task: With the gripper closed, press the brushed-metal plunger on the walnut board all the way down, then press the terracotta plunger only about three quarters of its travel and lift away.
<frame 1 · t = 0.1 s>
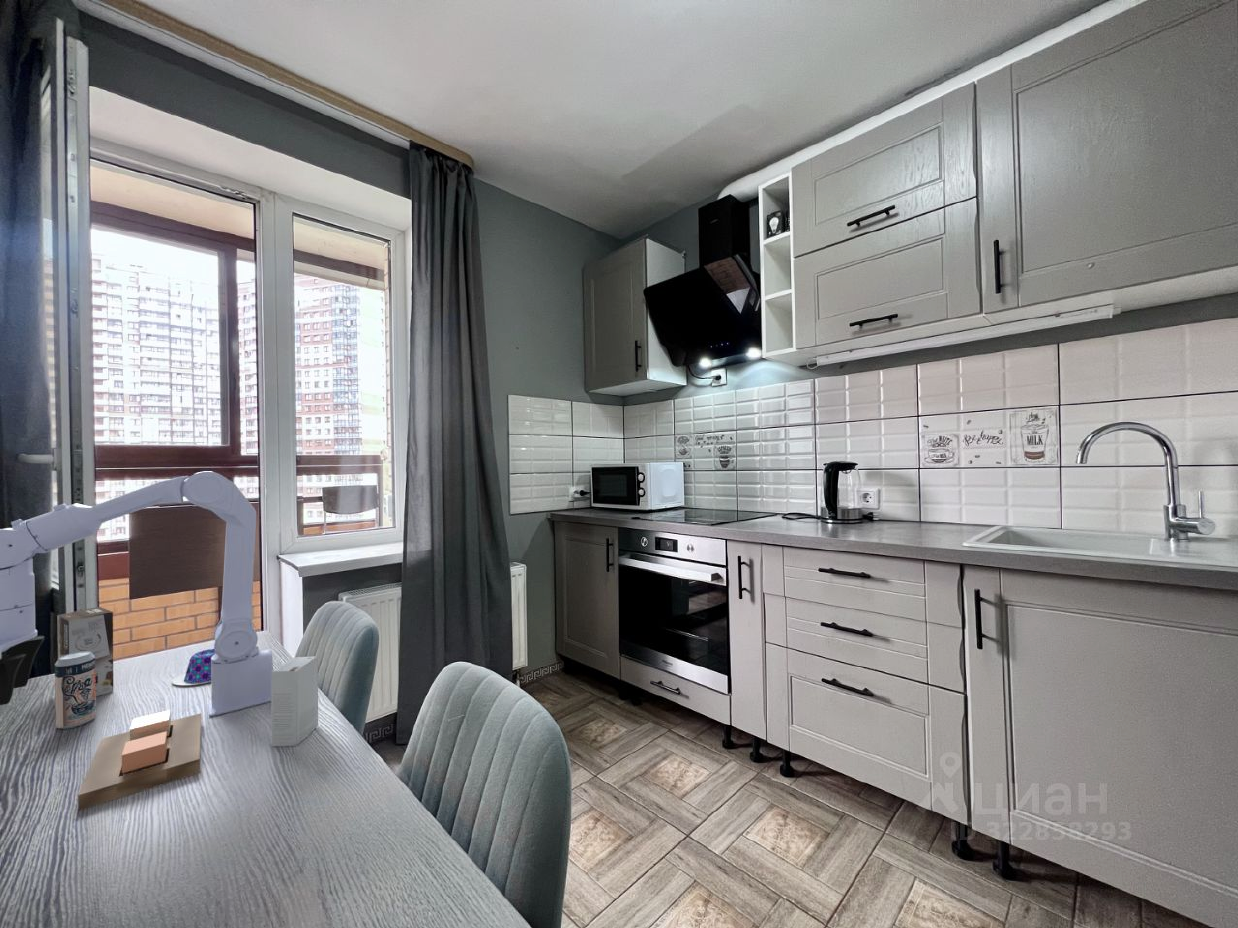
hand: (7, 695, 76), 10 cm above the table, tool pointing down, fingers open, 7 cm apart
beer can: (76, 724, 87), on the table
coffee box: (86, 693, 99), on the table
skincare box: (296, 738, 81), on the table
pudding: (209, 677, 107), on the table
terracotta button: (145, 751, 71), point 3 cm above the table, slide at 0.0 cm
metal button: (151, 726, 78), point 3 cm above the table, slide at 0.0 cm
button board: (148, 761, 75), on the table
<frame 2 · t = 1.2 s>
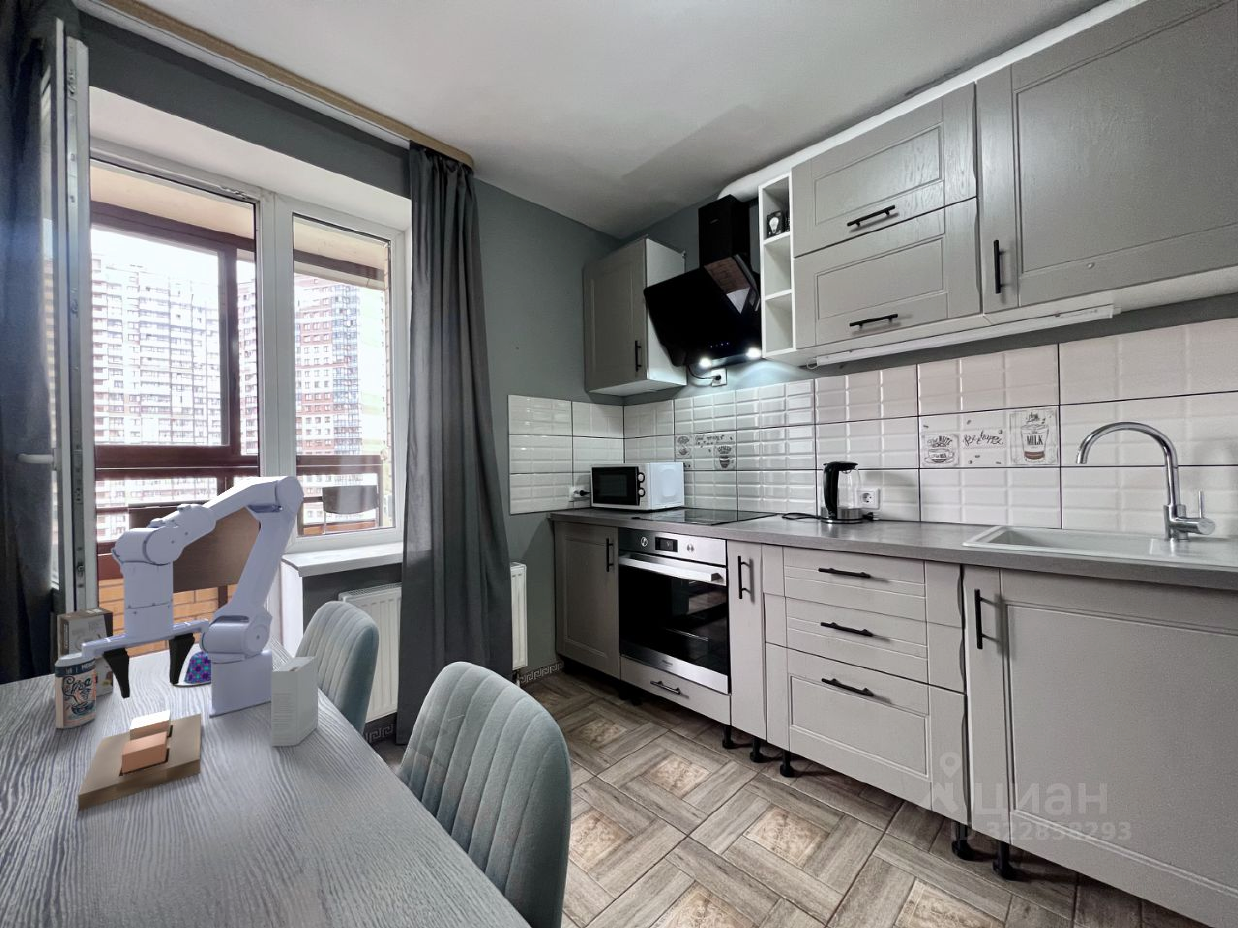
hand: (150, 689, 78), 9 cm above the table, tool pointing down, fingers open, 5 cm apart
nothing on the table moved.
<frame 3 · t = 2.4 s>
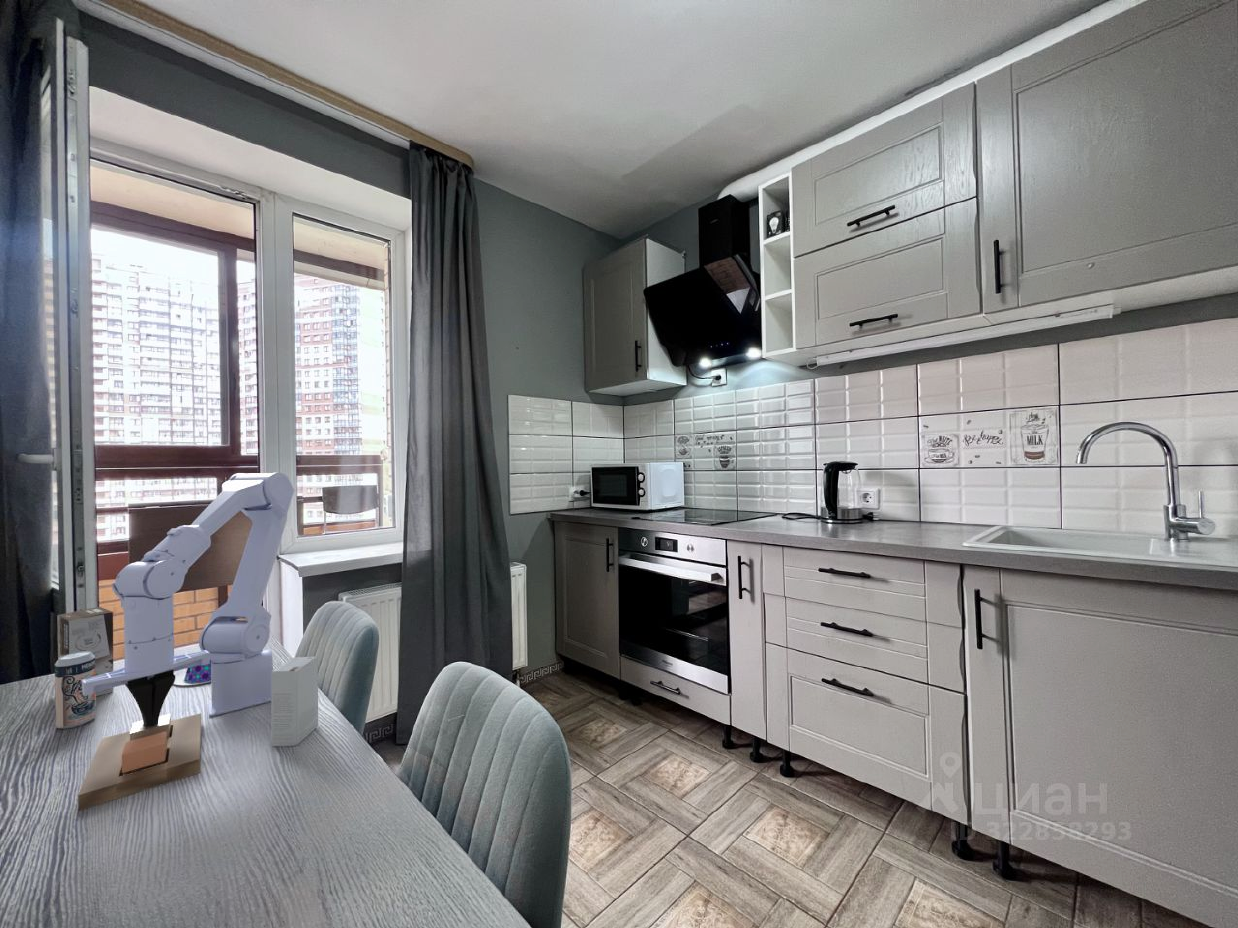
hand: (150, 723, 78), 4 cm above the table, tool pointing down, fingers closed, pressing on metal button
metal button: (151, 730, 78), point 3 cm above the table, slide at 0.6 cm, touching gripper
everything else where it was.
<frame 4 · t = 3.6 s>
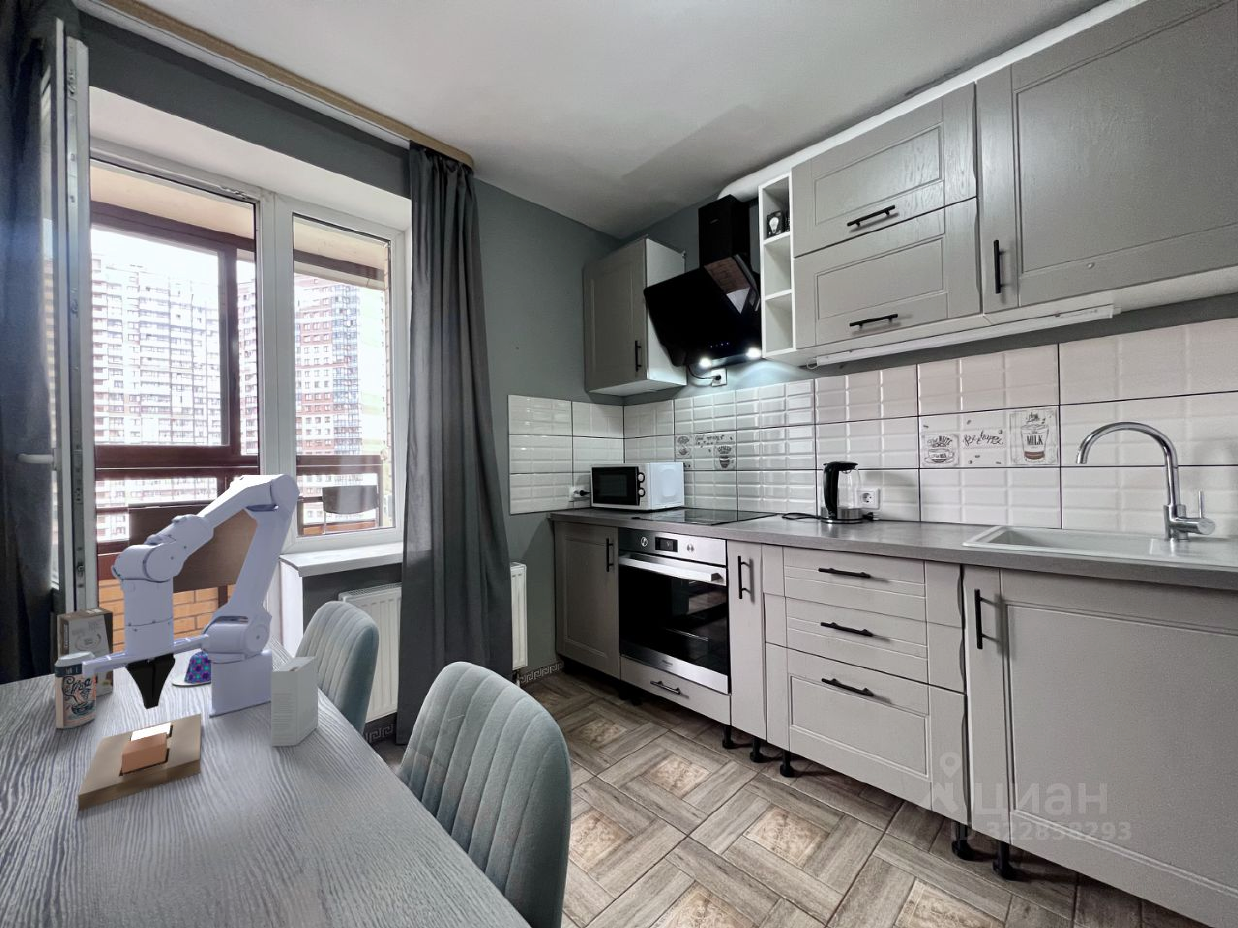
hand: (151, 705, 78), 7 cm above the table, tool pointing down, fingers closed
metal button: (151, 740, 78), point 1 cm above the table, slide at 2.1 cm
everything else where it was.
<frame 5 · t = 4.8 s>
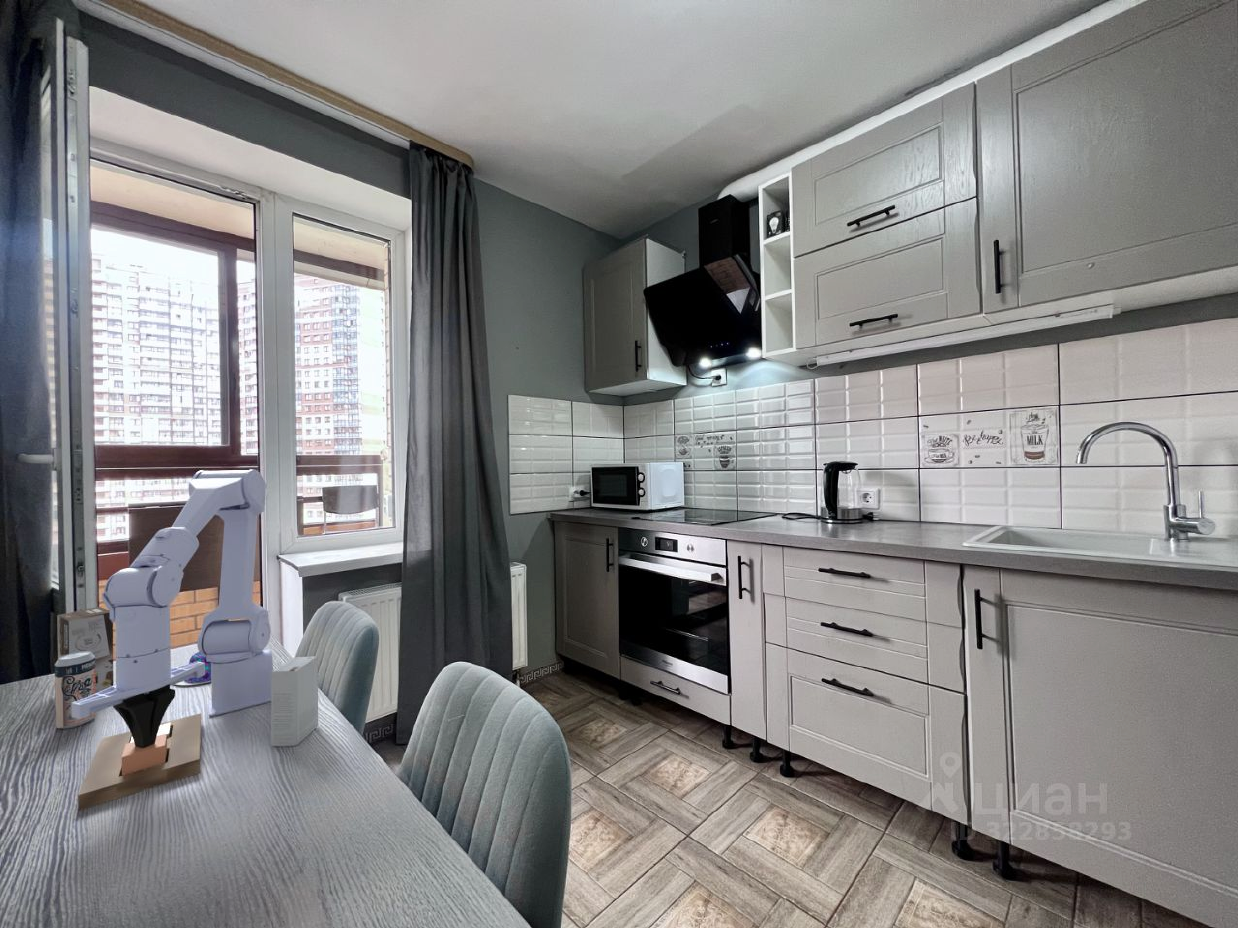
hand: (145, 744, 71), 4 cm above the table, tool pointing down, fingers closed, pressing on terracotta button
terracotta button: (145, 753, 71), point 3 cm above the table, slide at 0.3 cm, touching gripper
everything else where it was.
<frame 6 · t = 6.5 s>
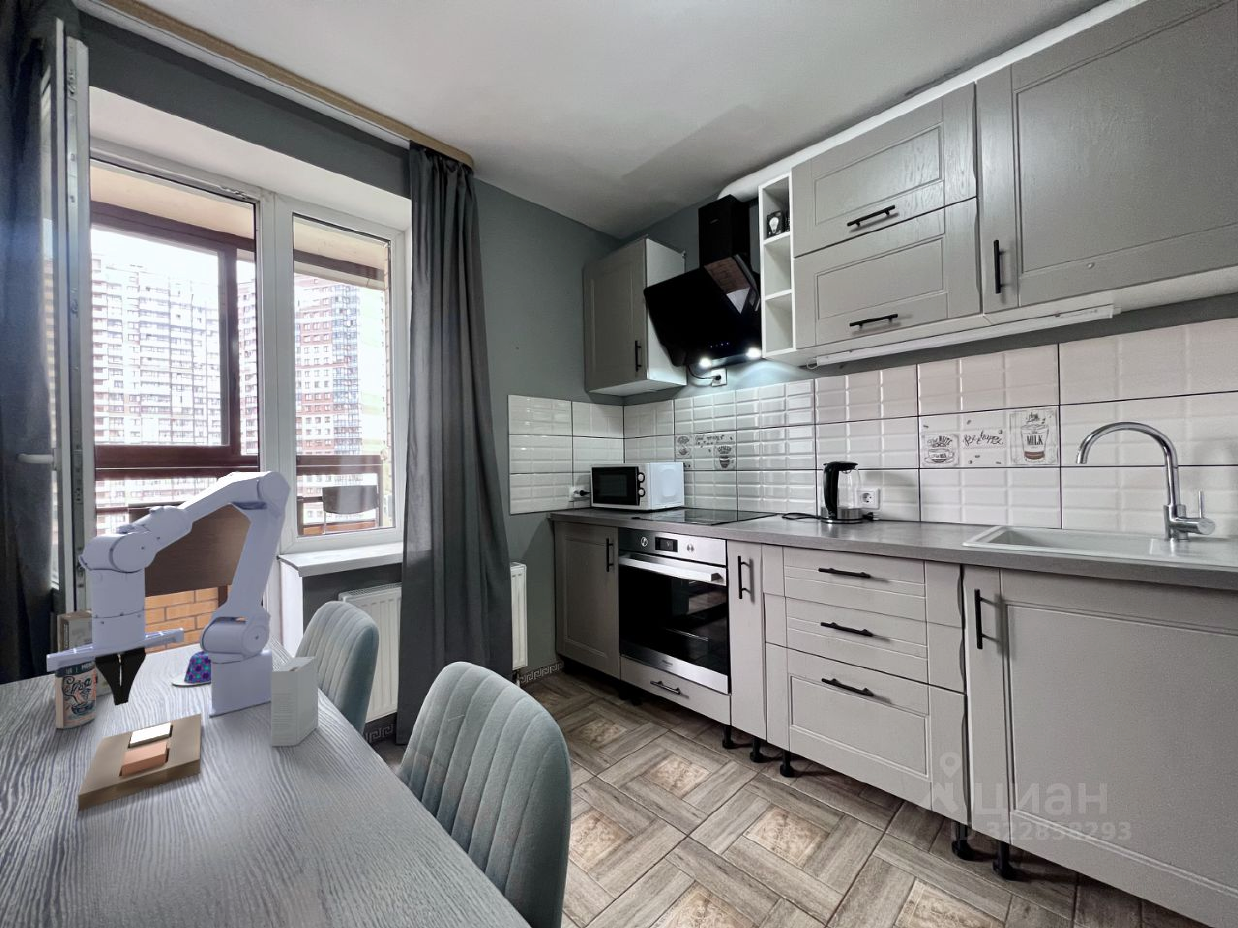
hand: (121, 702, 75), 9 cm above the table, tool pointing down, fingers closed
terracotta button: (145, 761, 71), point 2 cm above the table, slide at 1.4 cm
everything else where it was.
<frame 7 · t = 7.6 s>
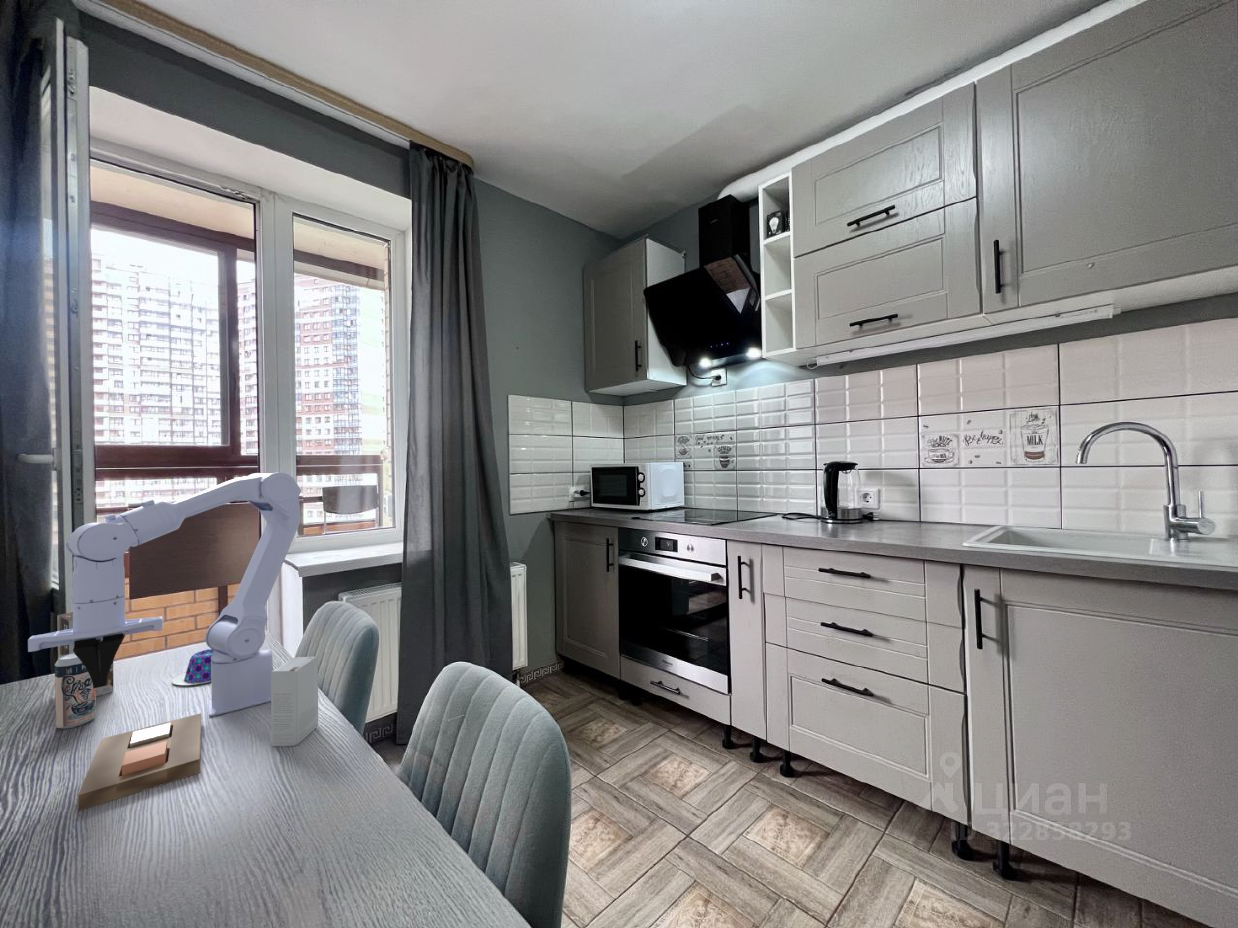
hand: (100, 685, 78), 10 cm above the table, tool pointing down, fingers closed
nothing on the table moved.
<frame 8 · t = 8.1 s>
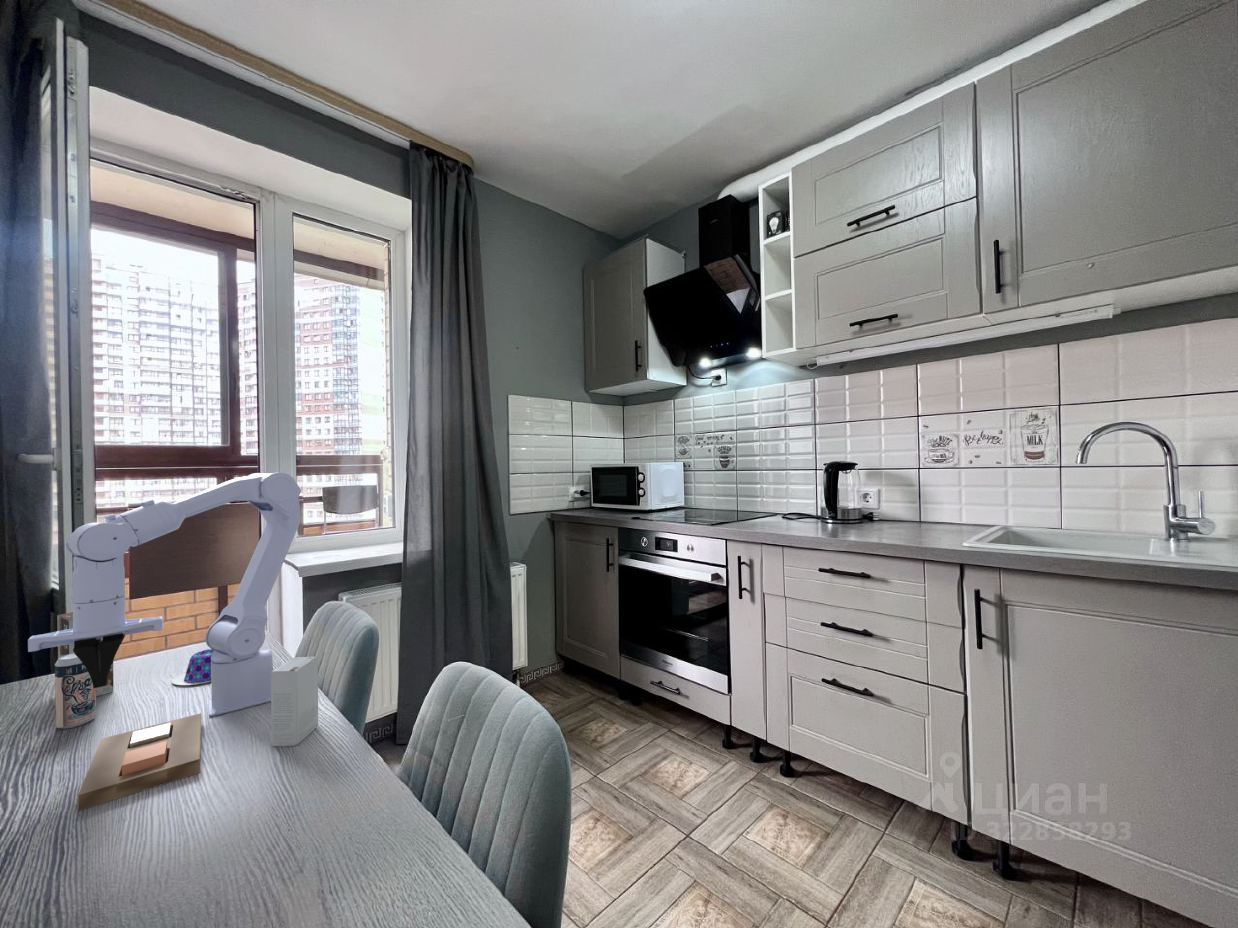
hand: (100, 685, 78), 10 cm above the table, tool pointing down, fingers closed
nothing on the table moved.
at the end: metal button slide at 2.1 cm; terracotta button slide at 1.4 cm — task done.
